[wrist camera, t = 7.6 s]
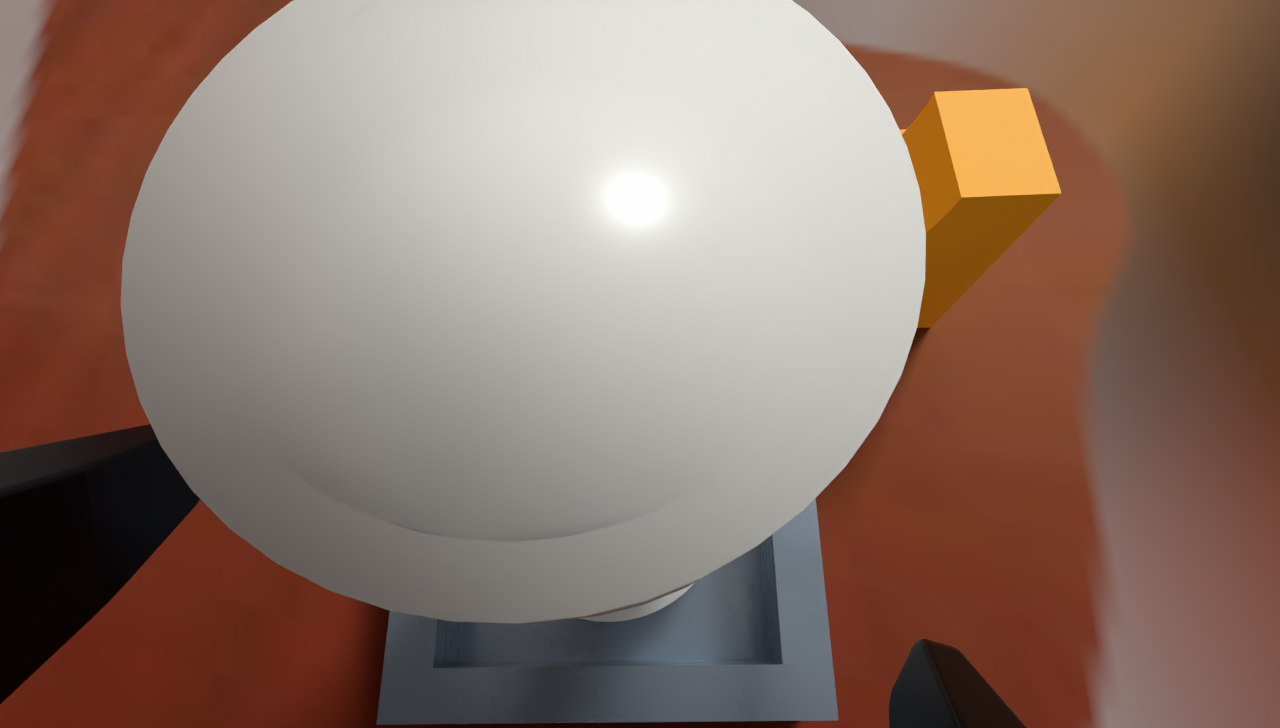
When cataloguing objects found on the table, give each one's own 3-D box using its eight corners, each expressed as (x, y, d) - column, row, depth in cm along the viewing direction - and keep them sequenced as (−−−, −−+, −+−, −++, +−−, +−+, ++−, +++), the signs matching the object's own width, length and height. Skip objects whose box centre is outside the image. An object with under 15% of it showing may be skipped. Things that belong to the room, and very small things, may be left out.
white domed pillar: (677, 656, 15) (817, 823, 3) (471, 573, 16) (-90, 436, 4) (744, 447, 17) (1007, 18, 5) (556, 380, 18) (364, -148, 5)
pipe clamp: (900, 200, 20) (1007, 24, 14) (928, 329, 19) (1061, 193, 13) (508, 216, 20) (450, 47, 14) (504, 348, 19) (438, 219, 13)
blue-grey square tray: (808, 705, 15) (838, 720, 13) (416, 708, 15) (376, 724, 13) (776, 343, 19) (795, 303, 16) (452, 347, 19) (425, 307, 16)
